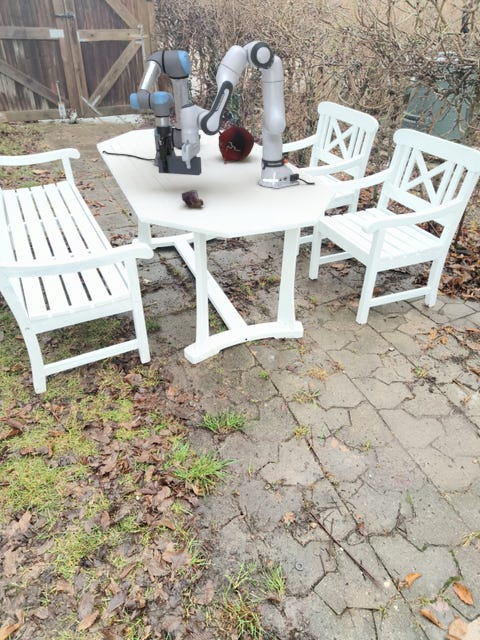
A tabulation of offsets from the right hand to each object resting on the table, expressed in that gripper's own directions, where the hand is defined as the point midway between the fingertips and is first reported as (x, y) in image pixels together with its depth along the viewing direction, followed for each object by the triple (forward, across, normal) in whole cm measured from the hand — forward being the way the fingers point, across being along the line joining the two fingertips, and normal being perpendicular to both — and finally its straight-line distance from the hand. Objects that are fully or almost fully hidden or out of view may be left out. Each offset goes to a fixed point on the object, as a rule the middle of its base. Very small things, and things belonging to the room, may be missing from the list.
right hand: (191, 165), depth 240 cm
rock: (+14, -22, -6) cm, 27 cm away
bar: (+4, 0, +7) cm, 8 cm away
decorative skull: (+14, +70, -8) cm, 72 cm away
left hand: (+4, 0, +14) cm, 15 cm away
